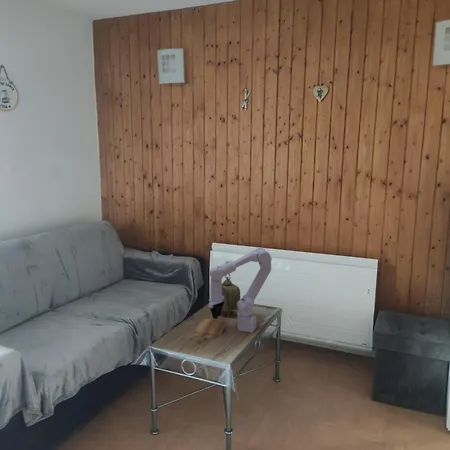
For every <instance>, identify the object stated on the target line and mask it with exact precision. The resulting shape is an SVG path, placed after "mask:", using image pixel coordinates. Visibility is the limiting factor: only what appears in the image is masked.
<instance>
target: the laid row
mask: <svg viewBox="0 0 450 450" xmlns="http://www.w3.org/2000/svg"><path fill="white" fill-rule="evenodd" d="M190 336H195V337H201V338H206V339H212V340H216V339H218V338H219V337H220V336H221V335H216V334H210V333H205V332H199V331H196V330H195V331H193V332H192V333H191V334H190Z"/></svg>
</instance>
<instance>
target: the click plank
mask: <svg viewBox="0 0 450 450" xmlns="http://www.w3.org/2000/svg"><path fill="white" fill-rule="evenodd" d="M226 324H227V322H226V321H222V320H217V319H211V318H204V317H201V318H200V319H199V323H198V324H197V326H196V329H195V331H198V332H204V333H209V334H215V335H220V336H221V335H222V334H223V333H224V330H225V327H226Z"/></svg>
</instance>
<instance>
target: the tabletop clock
mask: <svg viewBox="0 0 450 450" xmlns="http://www.w3.org/2000/svg"><path fill="white" fill-rule="evenodd" d="M224 278H225V280H223V282H222V296H224V300H223V301H222V302H224V305H223V307H222V311H221V313H222V312H224V313H226V312H227V315H226V319H230V315H233V313H234V311H239V309H238V308H237V302H238V301H239V300H241V290H240V287H239V286H237V285H236V284H234V283H233V282H232V280H231V273H230V274H228V276H227V275H226V276H224Z"/></svg>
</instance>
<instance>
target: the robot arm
mask: <svg viewBox="0 0 450 450" xmlns="http://www.w3.org/2000/svg"><path fill="white" fill-rule="evenodd" d="M272 260H273V259H272V255H271V253H270V252H269V251H267V250H266V249H265V248H263V247H257V248H256V249H253V250H251V251H249V252H248V253H246V254H244V255H243V256H242V257H239V258H237V259H236V260H233V261H232V260H226V261H225V263H223V264H221V265H217V266H216V267H212V268H211V269H210V270H209V271H210V272H209V276H210V298H209V299H208V301H209V303H208V304H207V305H208V307H207V308H208V309H210V311H211V315H212V319H213V320H217V319H218V317H221V315H222V312H223V311H222V307H223V305H224V302H222V301H223V300H224V296H222V283H223V282H222V280H223V278H224V277H225V276H226V277H227V276H229V274H230V275H231V274H233V272H236V270H237V268H239V267H241V266H243V265H245V264H247V263H250V262H254V263H258V264H259V270H258V272H257V273H256V275H255V277H254V279H253V280H252V282H251V284H250V286H249V288H248V290H247V292H246V293H245V294H244V295H243V296H242V297H241V298H240V300H239V301H238V302H237V308H238V310H237V311H238V312H237V313H236V314H237V319H236V321H237V323H236V324H237V331H240V332H246V333H248V332H249V333H253V332H254V331H256V329H257V316H256V315H255V314H254V315H253V314H252V313H253V308H254V306H255V300H256V298H257V297H258V295H259V292H260V290H261V289H262V287H263V286H264V284H265V282H266V280H267V278H268V277H269V275H270V273H271V271H272ZM221 311H222V312H221Z"/></svg>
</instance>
